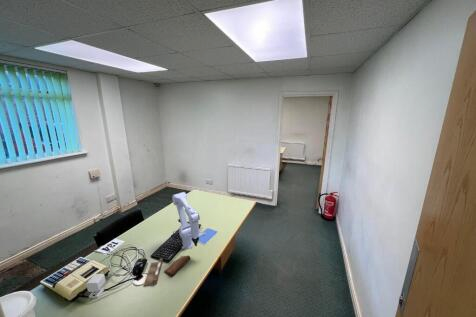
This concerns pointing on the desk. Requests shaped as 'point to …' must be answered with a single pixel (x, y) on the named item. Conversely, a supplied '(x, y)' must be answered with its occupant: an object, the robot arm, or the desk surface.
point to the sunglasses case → (176, 265)
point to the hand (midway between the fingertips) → (196, 245)
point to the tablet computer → (207, 236)
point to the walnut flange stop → (153, 273)
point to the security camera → (96, 285)
